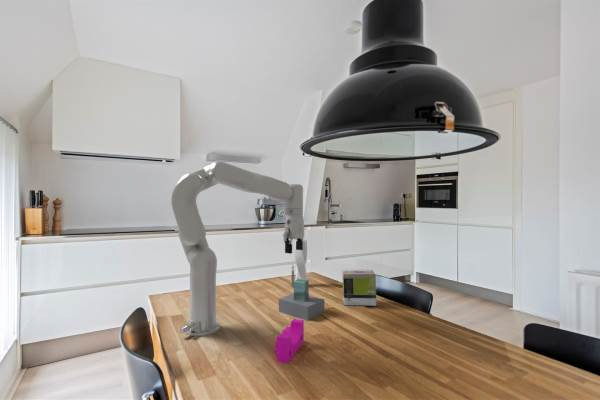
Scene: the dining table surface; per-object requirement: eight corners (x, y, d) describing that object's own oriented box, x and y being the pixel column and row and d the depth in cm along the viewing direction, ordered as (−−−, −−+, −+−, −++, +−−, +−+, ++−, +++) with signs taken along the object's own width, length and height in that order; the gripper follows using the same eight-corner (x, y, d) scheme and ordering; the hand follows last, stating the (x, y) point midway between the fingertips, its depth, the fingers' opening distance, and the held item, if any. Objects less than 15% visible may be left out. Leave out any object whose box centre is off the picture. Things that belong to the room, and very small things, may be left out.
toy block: (287, 338, 110) (287, 317, 109) (303, 341, 107) (303, 320, 107) (269, 359, 95) (269, 335, 95) (288, 363, 93) (288, 338, 93)
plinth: (307, 321, 125) (307, 307, 125) (278, 312, 135) (278, 298, 135) (324, 312, 134) (324, 299, 134) (296, 305, 145) (296, 292, 144)
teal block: (304, 301, 131) (304, 283, 131) (293, 300, 133) (293, 281, 133) (308, 297, 136) (308, 279, 136) (298, 296, 138) (298, 278, 138)
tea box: (373, 299, 151) (373, 269, 151) (376, 306, 141) (376, 274, 141) (342, 298, 152) (342, 268, 152) (343, 305, 142) (343, 273, 142)
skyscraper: (297, 282, 184) (297, 235, 183) (309, 283, 180) (309, 235, 180) (290, 285, 176) (290, 236, 176) (303, 287, 173) (303, 237, 172)
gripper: (292, 213, 125) (291, 255, 125) (310, 212, 141) (310, 249, 141) (276, 212, 129) (276, 253, 129) (296, 211, 144) (295, 248, 144)
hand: (294, 251), depth 135 cm, fingers open, 9 cm apart
